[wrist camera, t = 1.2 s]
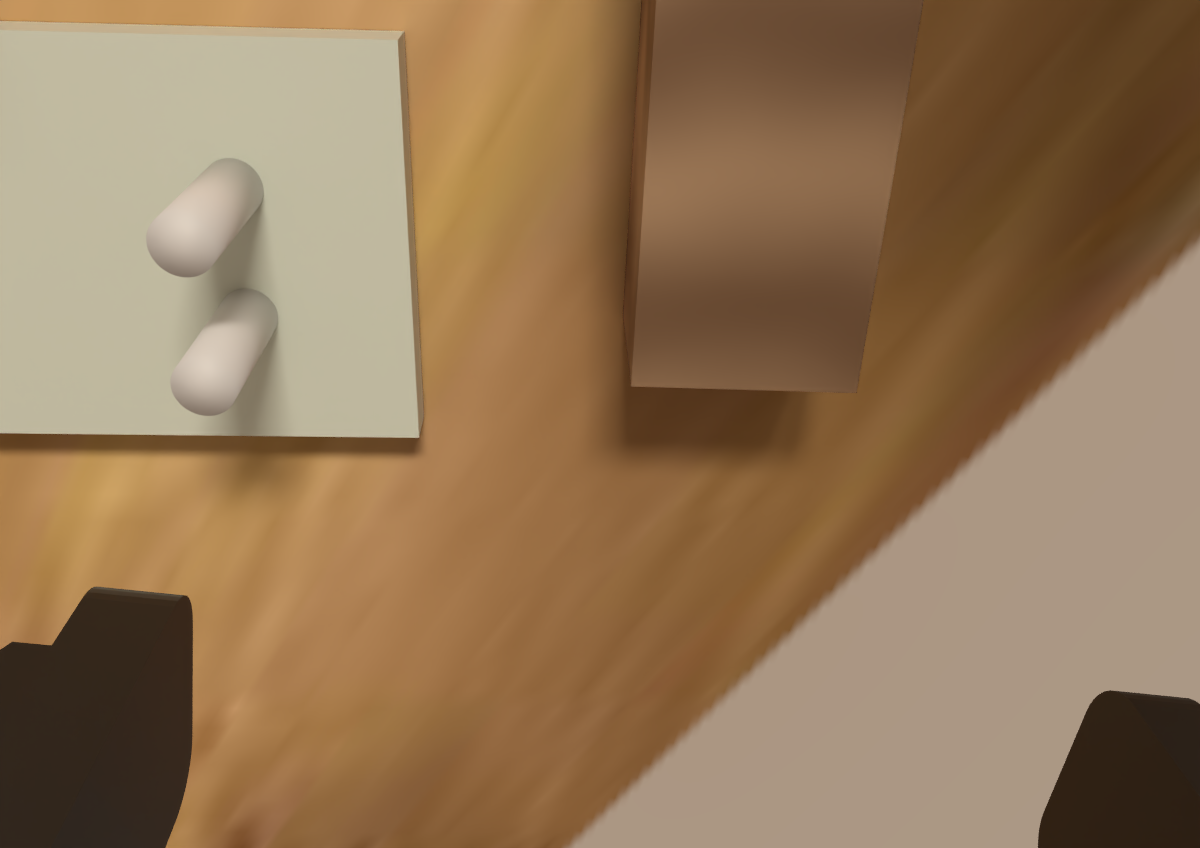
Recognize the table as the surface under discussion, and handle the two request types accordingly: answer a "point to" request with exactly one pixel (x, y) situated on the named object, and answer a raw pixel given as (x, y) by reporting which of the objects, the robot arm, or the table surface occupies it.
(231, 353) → the peg stand
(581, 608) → the table surface
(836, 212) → the walnut shelf board
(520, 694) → the table surface
